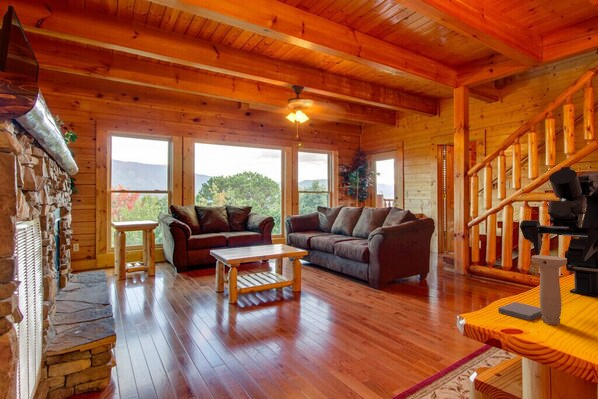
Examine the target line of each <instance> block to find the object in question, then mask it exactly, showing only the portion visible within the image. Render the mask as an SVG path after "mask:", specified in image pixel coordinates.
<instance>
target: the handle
mask: <svg viewBox="0 0 598 399" xmlns="http://www.w3.org/2000/svg"><path fill="white" fill-rule="evenodd" d="M531 262H532V263H533V264H535V265H537V266H538V267H539V273H540V275H539V298H538V299H539V308H540V309H541V313H542V316H541V320H542V322H543V323H546V324H547V325H554V326H558V325H559V324H561V314H562V293H561V285H560V276H559V275H560V274H559V273H560V272H559V270H560V268H561V267H566V264H567V258H565V257H562V256H555V255H554V256H553V255H544V254H543V255H541V254H539V255H536V254H535V255H532V256H531Z"/></svg>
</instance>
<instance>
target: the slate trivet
mask: <svg viewBox="0 0 598 399" xmlns="http://www.w3.org/2000/svg"><path fill="white" fill-rule="evenodd" d="M497 311H498V313H499V314H502V315H506V316H510V317H514V318H518V319H521V320H525V321H527V322H528V321H529V322H530V321H532V320H535V319H537V318H540V317H542V316H543V315H542V313H541V309H540V306H539V307H538V306H534V305H530V304H525V303H521V302H517V301H514V302H510V303H508V304H506V305H502V306H499V307H498V310H497Z"/></svg>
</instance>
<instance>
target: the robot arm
mask: <svg viewBox="0 0 598 399" xmlns="http://www.w3.org/2000/svg"><path fill="white" fill-rule="evenodd" d="M548 180H549V182H550V185H551V188H552V191H553V193H554V197H555V198H557V199H558V200H549V201H548V206H547V214H548V215H549V220H548V221H549V223H550V224H552V225H548V224H547V225H546V224H545V225H543V224H542V225H541V223H540V220H529V219H523V220H522V221H521V222H520V225H519V229H520V232H521V233H522V236H523V239H525V240H526V241H529V242H530V243H533V249H534V254H535V255H541V250H542V248H543V247H542V246H543V243H544V242H543V240H542V239H543V238H544V235H547V234H548V235H556V236H562V237H564V236H565V237H574V238H571V239H570V240H569V244H568V246H567V250H565V252H564V258H567V264H566V265H565V268H566V271H567V272H573V273H574V274H573V277H574V279H573V280H574V288H571V289H569V292H570V293H573V294H575V293H576V294H580V295H585V296H591V297H595V298H596V297H597V298H598V171H593V172H591V171H590V172H584V173H581V174H580V175H578V173H577V171H576V170H574V169H572V167H571V166H562V167H561V168H560V170H555V171H554V172H553V173H551V174H550V175H549V177H548ZM576 237H578V238H576Z"/></svg>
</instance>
